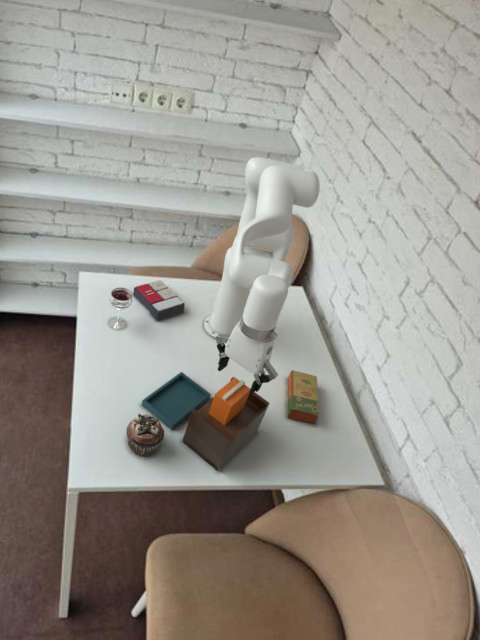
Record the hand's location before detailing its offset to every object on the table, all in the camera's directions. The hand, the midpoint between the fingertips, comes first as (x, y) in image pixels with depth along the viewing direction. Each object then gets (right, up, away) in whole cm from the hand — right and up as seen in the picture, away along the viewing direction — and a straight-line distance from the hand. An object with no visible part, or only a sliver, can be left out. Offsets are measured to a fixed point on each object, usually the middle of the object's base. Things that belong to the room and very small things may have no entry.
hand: (237, 379), depth 130 cm
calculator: (-22, +20, +52) cm, 60 cm away
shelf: (-3, -17, +14) cm, 22 cm away
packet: (-2, -9, +8) cm, 12 cm away
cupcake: (-23, -17, +8) cm, 30 cm away
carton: (+21, -10, +30) cm, 38 cm away
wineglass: (-34, +13, +40) cm, 54 cm away
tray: (-15, -9, +20) cm, 27 cm away
